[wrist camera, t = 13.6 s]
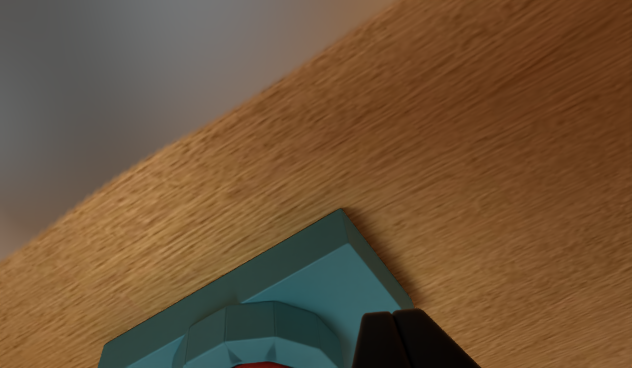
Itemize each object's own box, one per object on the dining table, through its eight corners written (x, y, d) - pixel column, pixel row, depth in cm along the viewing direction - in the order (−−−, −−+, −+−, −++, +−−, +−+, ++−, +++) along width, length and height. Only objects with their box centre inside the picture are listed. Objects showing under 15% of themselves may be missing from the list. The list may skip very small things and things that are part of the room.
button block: (337, 202, 21) (353, 272, 18) (414, 302, 25) (440, 377, 21) (99, 341, 24) (74, 424, 21) (196, 415, 27) (188, 497, 24)
